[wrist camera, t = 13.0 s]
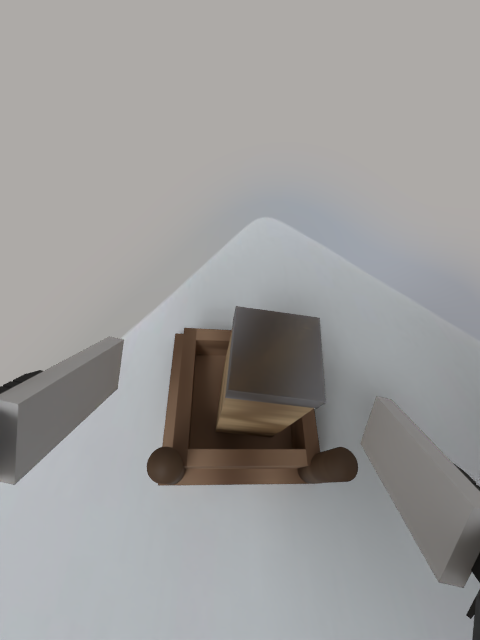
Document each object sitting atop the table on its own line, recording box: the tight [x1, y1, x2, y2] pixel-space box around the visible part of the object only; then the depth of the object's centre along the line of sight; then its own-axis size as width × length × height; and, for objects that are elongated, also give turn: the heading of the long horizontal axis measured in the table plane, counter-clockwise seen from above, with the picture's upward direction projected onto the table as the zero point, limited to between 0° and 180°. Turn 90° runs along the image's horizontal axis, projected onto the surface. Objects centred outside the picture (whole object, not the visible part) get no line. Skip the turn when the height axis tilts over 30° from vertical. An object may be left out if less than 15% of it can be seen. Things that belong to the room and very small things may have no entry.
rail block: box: [216, 306, 326, 437], centre depth 19 cm, size 5×5×11 cm
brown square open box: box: [147, 328, 358, 485], centre depth 22 cm, size 12×12×7 cm
